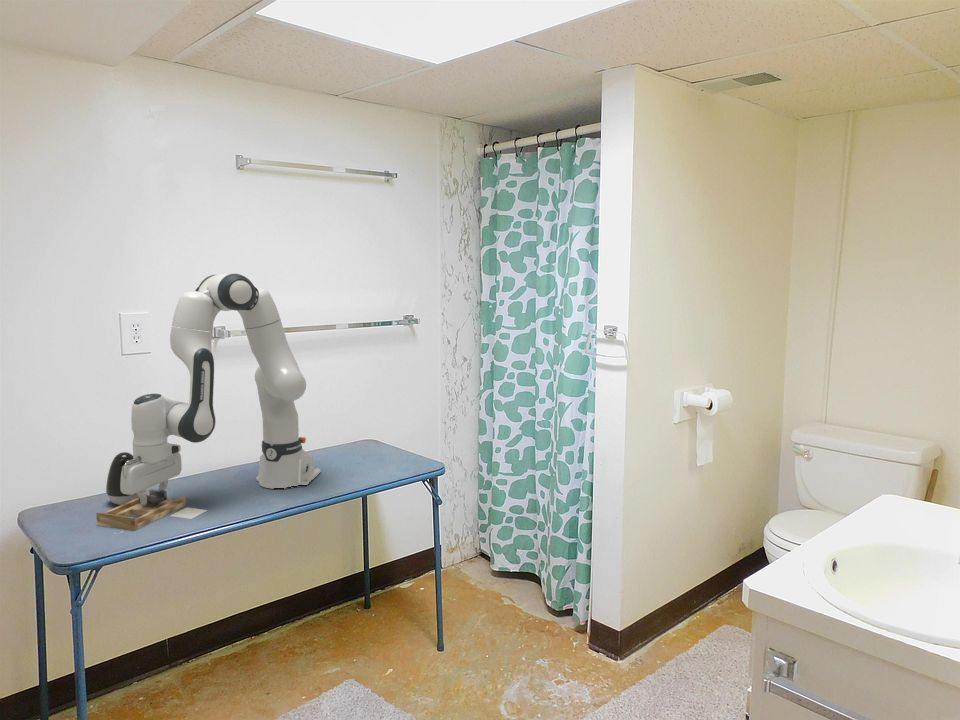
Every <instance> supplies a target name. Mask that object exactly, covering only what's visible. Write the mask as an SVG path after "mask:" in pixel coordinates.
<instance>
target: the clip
mask: <svg viewBox="0 0 960 720" xmlns="http://www.w3.org/2000/svg"><path fill="white" fill-rule="evenodd" d="M148 491H149V492H148V493H149V495H147V494H148V493H145V495H146V497H149V503H147V505H156V504H159V503H161V502H163V501H165V500H167V498H168V497H167V495H168V494H167V490H165V491H161V490H158V489H153V488H152V489H149V490H148ZM139 503H140V498H139ZM140 504H141V503H140Z"/></svg>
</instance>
